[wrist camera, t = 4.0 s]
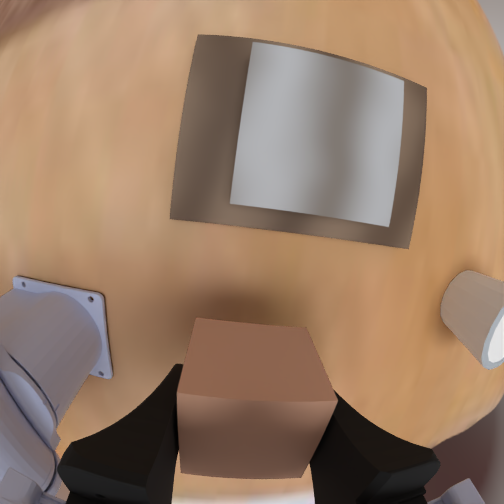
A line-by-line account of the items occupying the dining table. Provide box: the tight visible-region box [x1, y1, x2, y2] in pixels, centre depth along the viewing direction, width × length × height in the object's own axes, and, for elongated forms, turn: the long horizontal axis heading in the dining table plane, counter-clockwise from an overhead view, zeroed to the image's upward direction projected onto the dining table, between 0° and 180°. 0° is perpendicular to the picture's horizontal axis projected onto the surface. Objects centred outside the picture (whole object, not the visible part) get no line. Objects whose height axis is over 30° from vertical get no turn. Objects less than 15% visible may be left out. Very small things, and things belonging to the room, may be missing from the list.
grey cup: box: [440, 270, 504, 370], centre depth 18 cm, size 7×7×7 cm
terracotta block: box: [177, 317, 338, 479], centre depth 11 cm, size 5×5×5 cm
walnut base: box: [170, 35, 427, 249], centre depth 16 cm, size 16×12×4 cm
